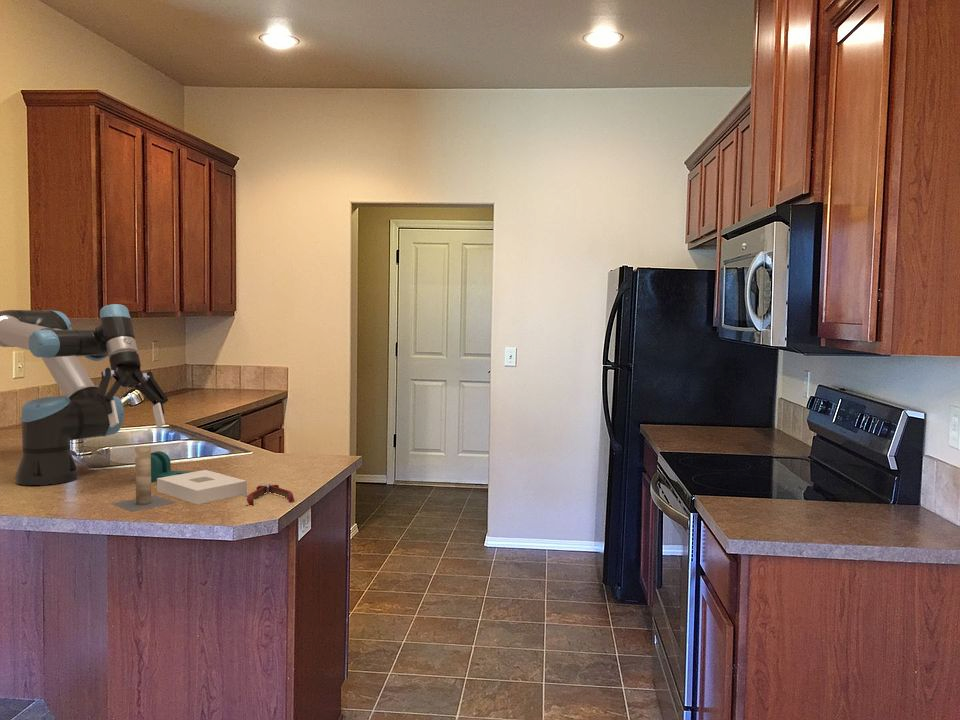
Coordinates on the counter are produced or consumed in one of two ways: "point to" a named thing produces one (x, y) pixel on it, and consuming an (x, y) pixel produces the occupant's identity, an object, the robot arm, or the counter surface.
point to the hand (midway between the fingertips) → (138, 425)
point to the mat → (132, 505)
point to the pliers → (270, 488)
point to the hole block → (201, 486)
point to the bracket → (162, 466)
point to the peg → (143, 475)
